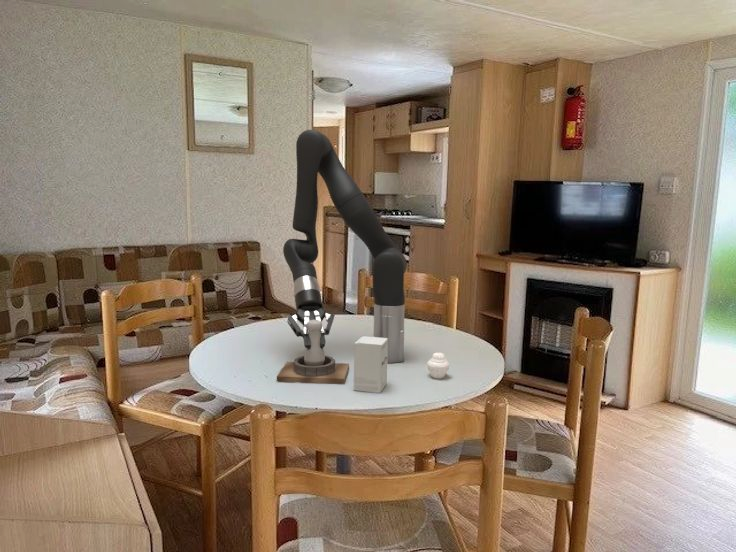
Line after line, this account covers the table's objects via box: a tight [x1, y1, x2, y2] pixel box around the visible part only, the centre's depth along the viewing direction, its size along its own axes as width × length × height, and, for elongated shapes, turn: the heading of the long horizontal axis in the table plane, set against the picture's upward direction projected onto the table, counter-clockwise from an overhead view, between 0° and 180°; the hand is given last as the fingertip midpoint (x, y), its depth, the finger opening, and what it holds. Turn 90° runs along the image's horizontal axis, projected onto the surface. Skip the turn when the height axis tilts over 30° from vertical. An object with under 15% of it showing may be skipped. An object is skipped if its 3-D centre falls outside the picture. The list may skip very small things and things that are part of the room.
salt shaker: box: [303, 320, 326, 366], centre depth 146 cm, size 6×6×13 cm
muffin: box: [426, 352, 450, 379], centre depth 147 cm, size 6×6×7 cm
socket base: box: [276, 355, 350, 385], centre depth 147 cm, size 18×13×4 cm
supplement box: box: [353, 335, 388, 394], centre depth 137 cm, size 7×7×13 cm
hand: (315, 347), depth 144 cm, fingers closed on salt shaker, 3 cm apart
